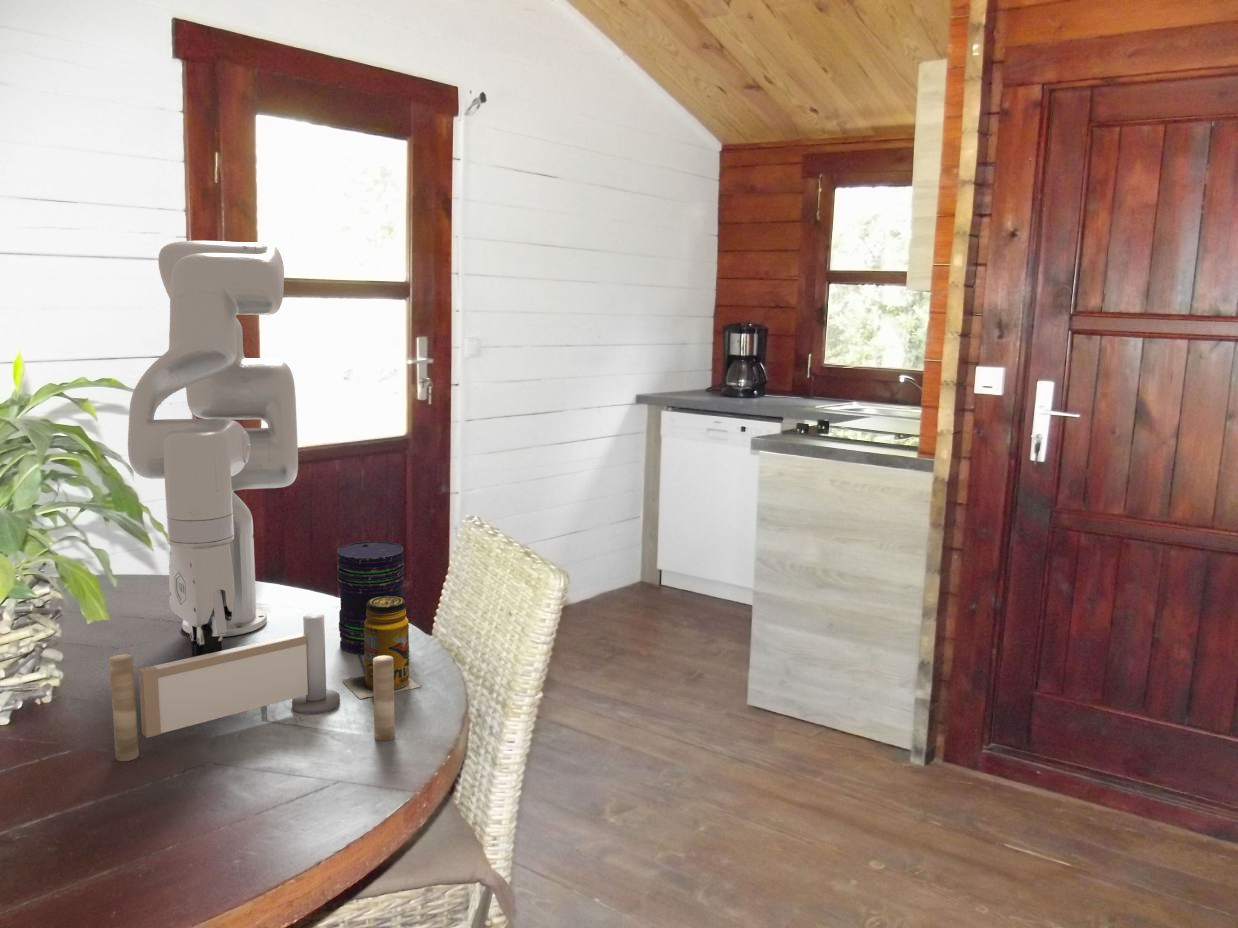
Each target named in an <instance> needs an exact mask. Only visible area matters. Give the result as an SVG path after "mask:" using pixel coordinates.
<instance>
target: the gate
mask: <svg viewBox="0 0 1238 928" xmlns="http://www.w3.org/2000/svg"><path fill="white" fill-rule="evenodd" d="M302 619H303V620H302V621H303V622H302V623H303V626H302V627H303V632H301V633H296V634H292V635H288V636H284V637H279V638H274V639H269V640H265V641H261V642H256V643H252V644H251V643H250V644H247V645H243V646H237V647H232V648H229V649H228V648H227V649H224V650H223V649H222V651H219V652H214V653H210V654H205V655H201V656H196V657H192V656H191V657H188V658H184V659H183V658H182V659H179V660H174V661H169V662H166V663H160V664H155V665H149V666H145V667H144V666H143V667H139V668H138V669H137V670H138V673H137V674H138V686H139V687H138V688H139V702H140V717H141V719H140V720H141V734H142V735H143V736H144V737H146V739H149V738H152V737H155V736H159V735H162V734H164V733H169V732H171V731H176V730H179V729H183V728H187V727H191V726H195V725H197V724H202V723H206V722H210V721H214V720H216V719H220V718H225V717H229V716H233V715H235V714H239V713H243V712H246V711H250V710H255V709H258V708H262V707H266V706H270V705H274V704H278V703H282V702H285V701H289V700H292V699H293V698H297V697H301V696H305V695H306V699H307V700H309V701H319V700H323V699H325V698H326V689H327V673H326V671H327V670H326V668H327V667H326V640H325V639H326V638H325V636H326V635H325V630H326V629H325V615H324V614H323V613H315V612H313V613H308V614H304V615H303V617H302Z"/></svg>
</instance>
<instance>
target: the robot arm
mask: <svg viewBox="0 0 1238 928" xmlns="http://www.w3.org/2000/svg"><path fill="white" fill-rule="evenodd" d="M158 270H159V273H160V277H161V280H162V283H163V287H164V288H165V291H166V294H167V296H168V298H169V332H168V333H169V334H168V350H167V351H166V352H164V354H162V355H161V356H160V357H159V358H158V359H156V360H155V361H154V362H153V363H152V364H151V365H150V366H149V367H148V368H147V369H146V370H145V372H144V373H143V375H142V376H141V377H140V378H139V380H138V382H137V384H136V385H135V387H134V390H133V391H132V394H131V399H130V402H129V403H130V404H129V411H128V412H129V413H128V414H129V415H128V416H129V417H128V430H127V432H128V433H127V450H128V451H127V453H128V456H127V457H128V459H129V460H128V461H129V464H130V466H131V468H132V470H133V471H134V472H135V473H136V474H137V475H139V476H140V477H142V478H146V479H152V480H153V479H154V480H159V479H160V480H161V479H163V480H164V491H165V493H164V494H165V509H166V510H165V511H166V525H167V526H166V527H167V543H168V544H169V545H170V546H169V547H170V549H169V560H168V561H169V565H168V566H169V567H168V568H169V569H168V570H169V571H168V575H169V576H168V577H169V578H168V585H169V586H168V587H169V592H168V593H169V608H170V610H171V611H172V613H173V614H175V615H176V616H178V617H179V618H181V619H182V630H183V631H184V632H185V633H187V634H189V638H190V640H191V641H190V649H191V651H190V652H191V653H190V654H191V657H196V656H201V655H205V654H210V653H214V652H219V651H223V645H222V643H223V638H224V637H233V636H239V635H244V634H247V633H250V632H254V631H256V630H259V629H261V628H262V627H263V626H265V624H266V623H267V622H268V621H267V620H268V618H267V613H266V612H265V611H264V610H262V609H261V608H259V607H257V598H256V597H257V596H256V595H257V594H256V591H257V590H256V564H255V543H254V540H255V539H254V521H253V516H252V512H251V510H250V509H249V507H248V506H247V505H246V503H245V502H244V501H243V500H242V499H241V498H240V497H239V496H238V495H237V493H235V491H240V490H257V489H258V490H259V489H277V488H280V489H281V488H285V487H289V486H291V485H293V483H294V482H295V481H296V478H297V476H298V471H299V445H298V423H297V422H298V420H297V399H296V387H295V381H294V376H293V372H292V370H291V368H290V366H289V365H288V364H287V363H285V362H284V361H282V360H280V359H276V358H265V357H264V358H258V357H257V358H256V357H254V358H248V357H245V353H244V345H243V344H244V340H243V339H244V337H243V327H242V324H241V322H240V321H239V319H238V318H237V316H239V315H242V316H243V315H245V316H247V315H249V316H250V315H252V316H254V315H256V316H257V315H258V316H260V315H261V316H266V315H267V316H270V315H274V314H276V313H278V311H279V310H280V308H281V305H282V303H283V298H284V290H285V289H284V287H285V286H284V285H285V283H284V281H285V267H284V262H283V258H282V255H281V253H280V250H279V249H278V248H277V247H276V246H275V245H273V244H271V243H266V242H265V243H264V242H244V241H243V242H242V241H241V242H240V241H239V242H238V241H237V242H236V241H219V240H181V241H175V242H171V243H168V244H166V245H164V246H162V248H161V249H160V251H159V254H158ZM182 389H185V391H186V392H185V393H186V400H187V401H186V402H187V406H188V409H189V411H190V412H191V413H192V415H194V416H195V417H197V418H171V419H170V418H169V419H167V418H165V419H161V418H160V419H155V413H156V411H157V409H158V408H159V406H160V405H161V404H162V403H163V402H164V401H165V400H167V398H169V397H170V396H171V395H173V394H174V393H176V392H178V391H180V390H182ZM198 418H199V419H198ZM235 420H261V421H263V422H264V423H266V425H267V427H252V428H251V427H250V428H249V427H247V428H246V427H245V428H244V426H243V425H242V424H240V423H239V422H238V421H235Z"/></svg>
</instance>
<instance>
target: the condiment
mask: <svg viewBox="0 0 1238 928" xmlns="http://www.w3.org/2000/svg"><path fill="white" fill-rule="evenodd" d="M366 608H367V612H366V617H367V619H366V620H365V622H364V655H363V656H364V661H363V663H364V675H362V676H357V677H347V678H344V679H342V682H343V683H344V684H345V686H346V687H348V689H349V690H350V691H351V692H352V693H354V694H355V696H356V697H358V699H360V700H361V699H365V698H370V697H374V687H373V659H374V658H375V657H377V656H384V655H386V656H391V657H393V668H394V693H398V692H403V691H408V690H411V689H412V690H413V689H416V688H420V685H419V684H418V683H416V682H415V681H414V680H413V679H411V678H410V642H409V641H410V640H409V639H410V635H409V634H410V633H409V632H410V631H409V629H410V627H409V626H410V624H409V619H408V618H407V612H406V601H405V599H403V597H402V598H399V597H395V596H382V597H376V598H373V599H371V600H369V601H368V603H367V604H366Z"/></svg>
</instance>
